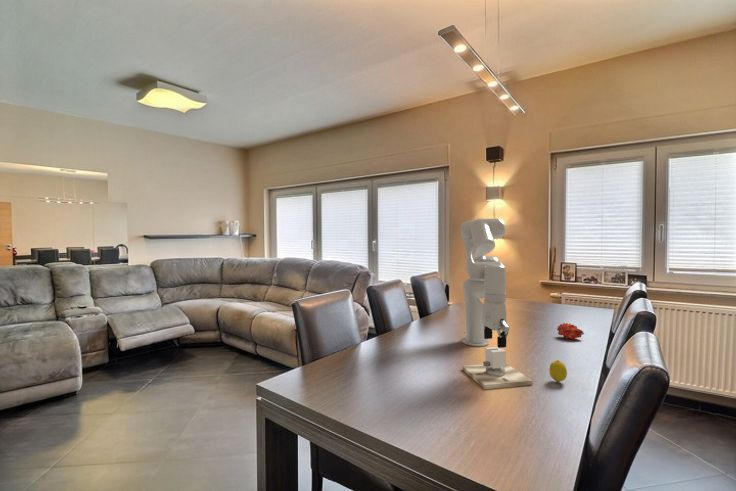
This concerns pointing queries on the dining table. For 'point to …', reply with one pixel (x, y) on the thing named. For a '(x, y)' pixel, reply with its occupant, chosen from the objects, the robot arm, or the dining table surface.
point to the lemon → (558, 371)
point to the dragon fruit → (569, 331)
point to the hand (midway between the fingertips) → (494, 342)
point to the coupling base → (496, 376)
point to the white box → (495, 357)
